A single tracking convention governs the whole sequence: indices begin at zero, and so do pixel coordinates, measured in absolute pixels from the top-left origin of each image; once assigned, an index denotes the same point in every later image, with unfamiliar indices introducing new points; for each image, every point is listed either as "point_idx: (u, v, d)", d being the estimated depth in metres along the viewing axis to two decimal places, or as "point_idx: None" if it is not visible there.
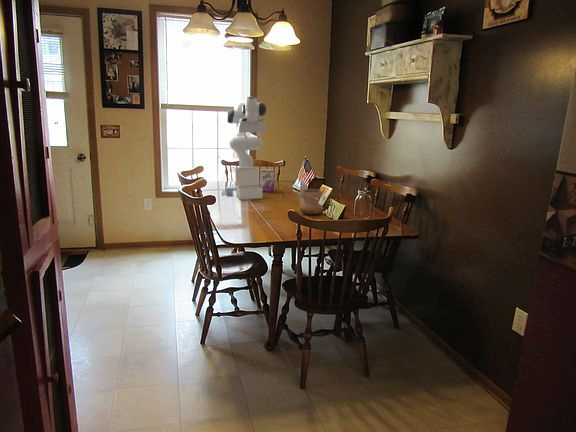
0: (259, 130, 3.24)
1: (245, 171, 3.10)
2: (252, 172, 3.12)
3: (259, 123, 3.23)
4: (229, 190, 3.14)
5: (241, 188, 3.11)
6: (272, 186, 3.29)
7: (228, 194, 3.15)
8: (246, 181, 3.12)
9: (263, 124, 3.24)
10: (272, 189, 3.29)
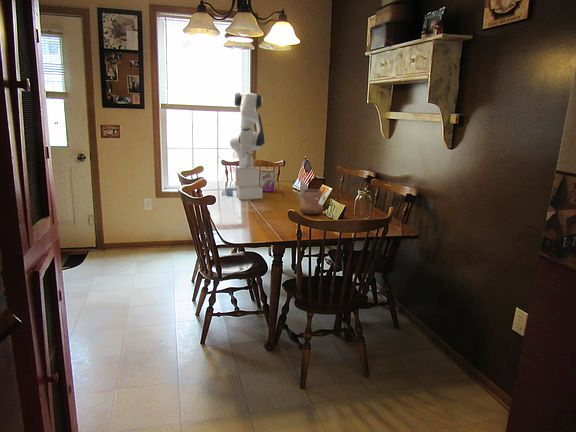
0: (245, 163, 3.06)
1: (245, 171, 3.10)
2: (252, 172, 3.12)
3: (245, 156, 3.05)
4: (229, 190, 3.14)
5: (241, 188, 3.11)
6: (272, 186, 3.29)
7: (228, 194, 3.15)
8: (246, 181, 3.12)
9: (246, 157, 3.02)
10: (272, 189, 3.29)
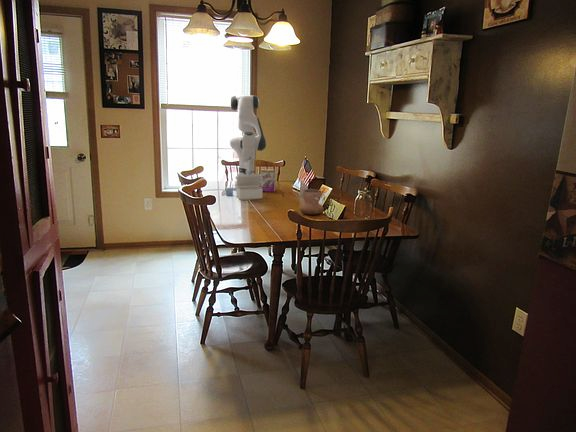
0: (247, 169, 2.99)
1: (247, 177, 3.04)
2: (254, 178, 3.06)
3: (247, 161, 2.98)
4: (229, 190, 3.14)
5: (241, 188, 3.11)
6: (272, 186, 3.29)
7: (228, 194, 3.15)
8: (247, 183, 3.10)
9: (248, 163, 2.95)
10: (272, 189, 3.29)
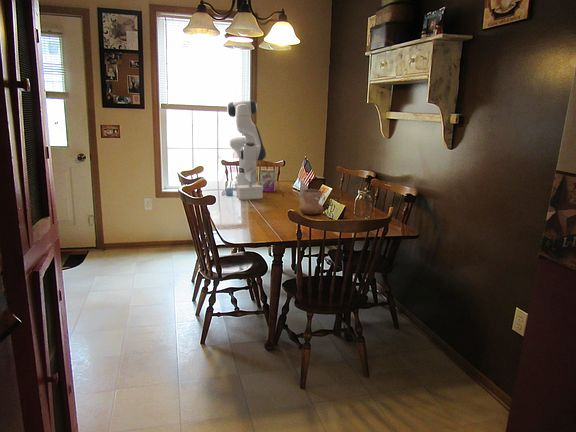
0: (249, 179, 2.97)
1: None
2: None
3: (249, 172, 2.96)
4: (229, 190, 3.14)
5: None
6: (272, 186, 3.29)
7: (228, 194, 3.15)
8: (247, 186, 3.10)
9: (250, 174, 2.93)
10: (272, 189, 3.29)
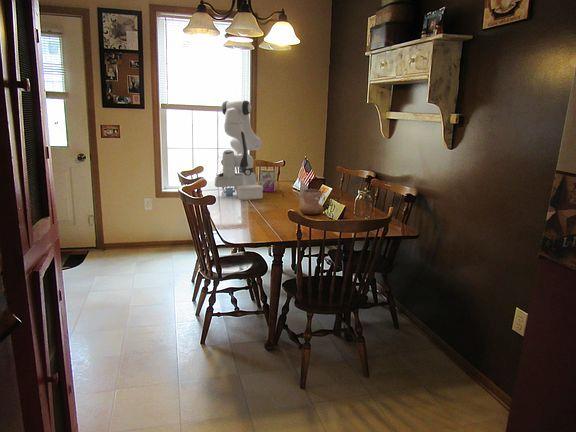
0: (236, 184, 3.15)
1: None
2: None
3: (236, 177, 3.14)
4: (229, 190, 3.14)
5: None
6: (272, 186, 3.29)
7: (228, 194, 3.15)
8: (247, 186, 3.10)
9: (240, 178, 3.15)
10: (272, 189, 3.29)
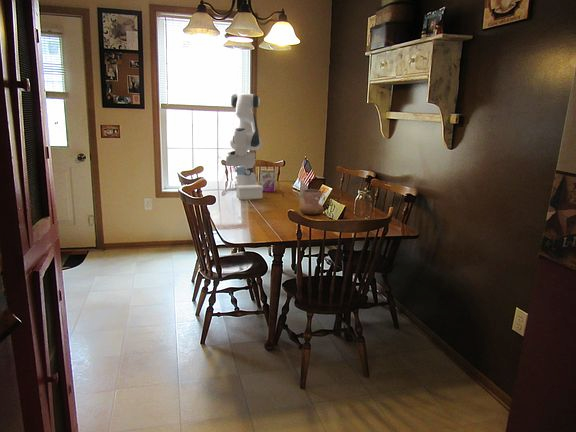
0: (248, 163, 3.06)
1: None
2: None
3: (248, 156, 3.05)
4: (240, 169, 3.05)
5: None
6: (272, 186, 3.29)
7: (239, 173, 3.05)
8: (247, 186, 3.10)
9: (252, 157, 3.06)
10: (272, 189, 3.29)
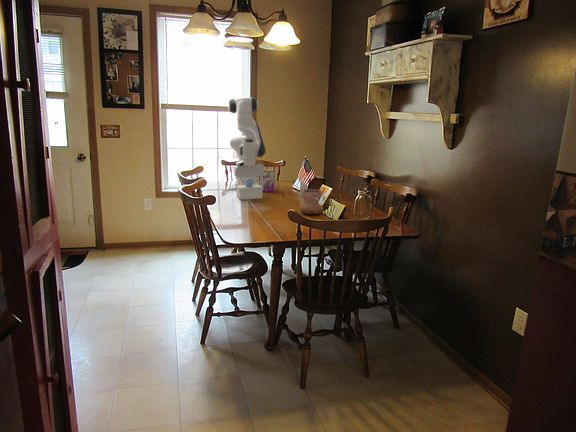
0: (257, 174, 3.05)
1: None
2: None
3: (257, 167, 3.04)
4: (249, 181, 3.04)
5: None
6: (272, 186, 3.29)
7: (248, 185, 3.05)
8: None
9: (261, 168, 3.05)
10: (272, 189, 3.29)
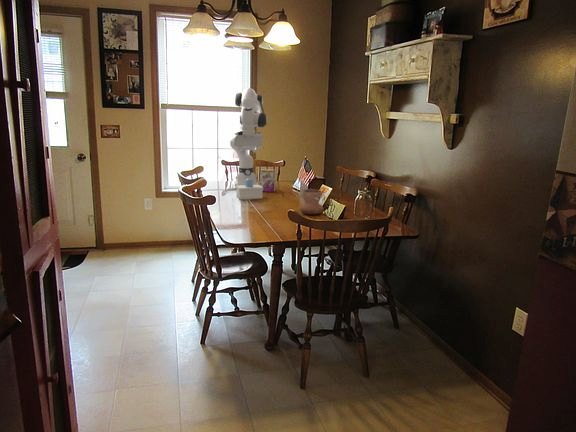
0: (256, 144, 3.02)
1: None
2: None
3: (256, 136, 3.01)
4: (249, 181, 3.04)
5: None
6: (272, 186, 3.29)
7: (248, 185, 3.05)
8: None
9: (260, 137, 3.02)
10: (272, 189, 3.29)
